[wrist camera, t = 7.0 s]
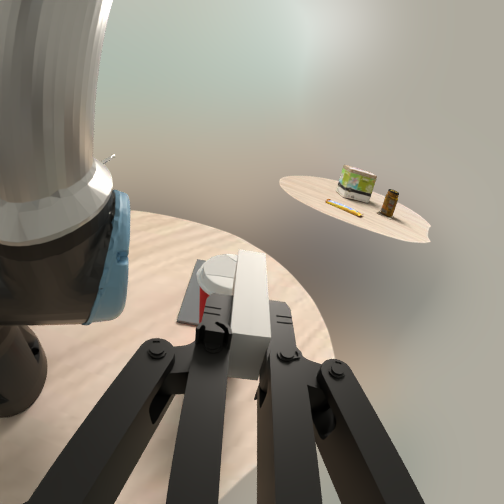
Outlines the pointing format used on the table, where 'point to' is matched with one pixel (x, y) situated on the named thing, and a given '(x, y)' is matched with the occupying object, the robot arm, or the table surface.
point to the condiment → (389, 204)
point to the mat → (191, 299)
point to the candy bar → (343, 207)
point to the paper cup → (216, 278)
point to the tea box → (356, 184)
